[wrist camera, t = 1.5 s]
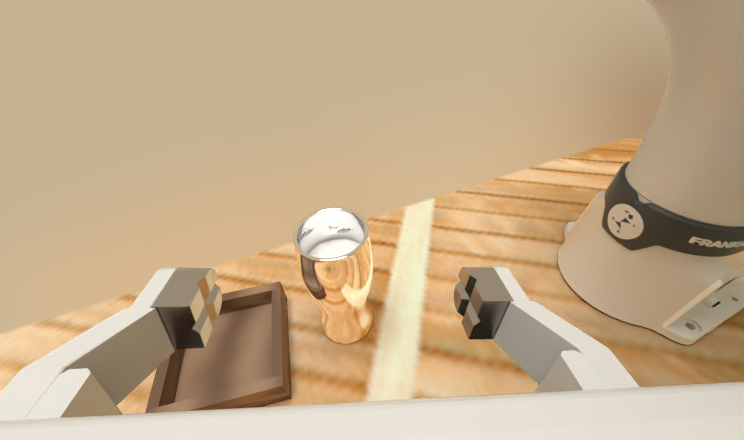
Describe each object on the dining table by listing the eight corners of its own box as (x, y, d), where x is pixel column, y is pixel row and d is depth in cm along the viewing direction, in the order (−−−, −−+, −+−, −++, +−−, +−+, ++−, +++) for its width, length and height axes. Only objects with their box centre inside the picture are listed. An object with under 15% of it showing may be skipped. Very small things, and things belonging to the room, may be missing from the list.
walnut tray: (286, 297, 39) (280, 281, 37) (291, 398, 31) (282, 385, 28) (187, 320, 38) (173, 304, 35) (163, 433, 29) (142, 422, 27)
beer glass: (315, 300, 39) (289, 212, 29) (369, 289, 40) (362, 199, 30) (321, 354, 34) (291, 270, 24) (382, 340, 35) (379, 253, 25)
